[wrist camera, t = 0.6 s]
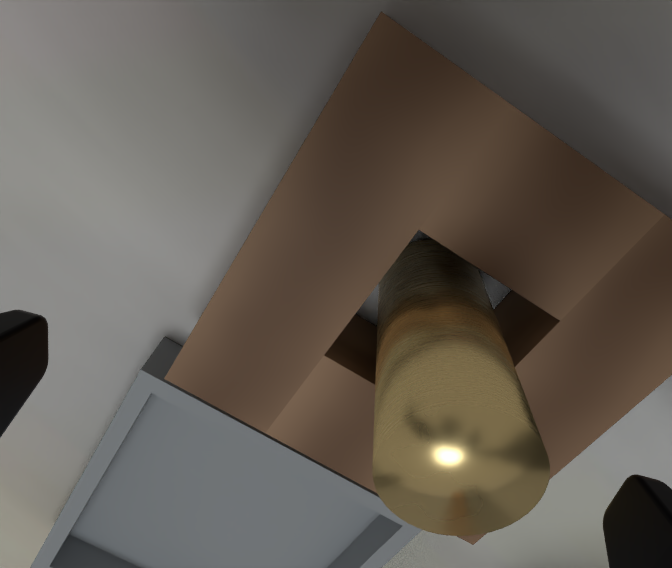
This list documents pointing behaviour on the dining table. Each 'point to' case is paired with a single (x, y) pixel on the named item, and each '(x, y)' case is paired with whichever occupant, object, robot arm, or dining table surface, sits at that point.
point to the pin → (449, 402)
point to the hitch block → (455, 234)
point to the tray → (211, 494)
